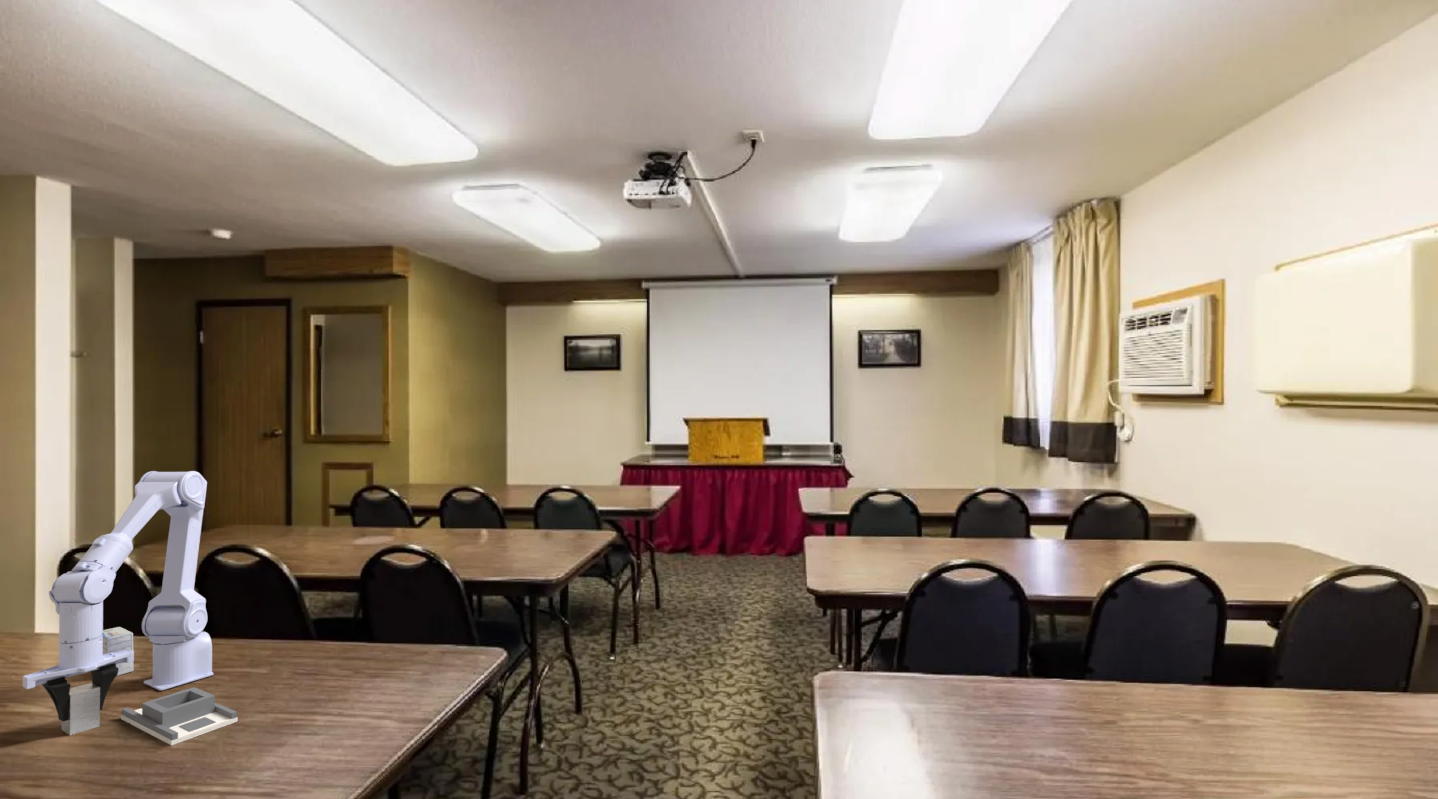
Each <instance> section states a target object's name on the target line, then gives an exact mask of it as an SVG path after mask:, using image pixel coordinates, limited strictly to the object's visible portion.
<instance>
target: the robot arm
mask: <svg viewBox="0 0 1438 799" xmlns="http://www.w3.org/2000/svg"><path fill="white" fill-rule="evenodd" d="M207 485H208V482H207V480H206V479H205V478H204V476H203V475H202V474H201V473H200V472H198V471H196V470H190V471H156V470H151V471H147V472H146V473H144V474H143V475H142V476H141V477H140V480H139V482H137V484H135V486H134V495H135V496H134V498H133V499H132V501H131V502H130V504H129V505H128V506H127V509H126V510H125V511H124V513H123V514H122V516H121V518H120V519H119V520H118V522H117V523H116V525H115V526H114V528H113V529H112V530H111V532H110V533H107V534H102V535H100V536H98V537H97V538H95V539H94V541H92V543H91V544H92V545H91V546H90V547H89V549H88V550H87V551H86V552H85V554H84V555H83V556H82V557H80V559H79V561H78V562H77V563H76V565H75V566H74V567H73V568H72V569H71V571H67V572H66V573H63V574H61V575H60V576H58V577H57V578H56V579H55V581H54V582H53V584H52V587H51V589H50V590H49V591H48V596H49V599H50V600H51V601H52V603H54V605H55V613H56V614H58V616H59V617H58V620H59V621H58V633H59V634H58V664H56V665H53V666H51V667H47V668H45V669H42V670H39V671H35V672H32V673H29V674H25V675H23V676H22V687H23V688H24V689H26V690H29V689H33V688H36V686H41V685H42V687H43V689H45V691H46V693H47V694H48V695H49V697H50V698H51V700H52V702H53V704H54V706H55V710H56V712H57V717H58V718H57V719H58V720H59V721H60V722H61V721H67V720H68V716H69V708H68V699H69V692H70V688H71V686H72V684H71V683H68V679H66V678H71V677H75V676H78V675H81V674H86V673H89V672H90V673H91V674H90V675H91V681H92V682H91V683H93V684H95V685H97V686H99V687H100V711H102V710H103V706H104V703H105V700H106V697H107V695H108V692H109V689H110V687H112V686H111V685H112V684H113V682H114V680H115V679H116V677H118V676H117V674H118V671H119V668H117V667H116V665H117V664H121V663H124V662H126V663H129V662H132V661H133V662H134V661H135V651H134V650H133V651H132V650H130V649H128V650H124V651H119V652H114V653H108V654H103V630H104V600H105V599H106V598H108V597H109V595H110V594H111V593H112V591H113V587H114V581H115V579H116V576H117V571H118V570H119V569H120V567H121V566H122V564H123V563H124V562H125V561H126V559H127V558H128V557H129V555H130V554H131V553H132V551H133V549H134V545H133V542H132V541H133V539H134V538H135V537H136V536H137V535H138V533H139V532H141V530H142V529H143V528H144V527H145V526H146V524H147V523H149V521H150V520H151V519H152V517H154V515H155V514H156V513H157V512H158V511H159V510H163V511H164V512H166V513H167V514H168V516H170V523H169V530H168V536H167V545H166V552H165V562H164V570H163V576H162V583H161V584H162V585H161V592H160V593H158V594H157V595H156V596H154V597H153V598H152V599H151V600H149V602H147V603H148V604H147V605H148V606H147V609H146V612H145V614H144V617H143V618H142V621H141V630H142V633H143V634H144V636H145V637H147V638H148V639H149V640H148V642H151V643H152V678H150V679H146V680H144V681H143V684H144V685H147V686H148V687H151V688H153V689H154V690H155V689H156V690H158V691H160V692H161V691H164V690H168V689H172V688H176V687H178V686H182V685H184V684H189V683H191V682H195V681H198V680H201V679H205V678H208V677H211V676H212V677H213V675H214V672H213V643H212V638H211V635H210V634H209V633H208V632H206V631H204V629H205V627H206V625H207V623H208V612H207V608H206V603H207V599H206V598H205V597H204V596H203V595H201V594H200V593H198V592H197V591H196V590H195V583H196V576H197V575H196V574H197V565H198V559H199V558H198V557H199V550H200V543H201V542H200V541H201V534H202V525H203V517H204V509H205V503H206V497H207V487H208V486H207Z"/></svg>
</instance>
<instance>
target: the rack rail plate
mask: <svg viewBox="0 0 1438 799" xmlns="http://www.w3.org/2000/svg"><path fill="white" fill-rule="evenodd" d="M141 707H142V708H141ZM141 707H140V708H138V709H135V710H133V709H131V708H129V707H123V708H121V714H120V719H121V720H122V721H124V722H125V723H127V724H129V723H130V725H132V726H133V727H135V728H137V729H139V730H141V731H142V732H144V733H146V734H149V735H150V736H153V737H154V738H156V739H158V740H160V741H161V742H164V743H166V744H168V745H170V746H174V745H177V744H179V743H182V742H185V741H188V740H190V739H193V738H195V737H198V736H201V735H205V734H207V733H210V732H213V731H214V730H218V729H221V728H223V727H226V726H228V725H232V724H235V723H236V722H239V721H238V720H239V719H238V711H236V710H234V709H231V708H229V707H227V706H225V705H222V704H220V703H217V702H216V696H215V695H214V694H212V693H209V692H208V691H204V690H203V689H200V688H197V687H190V688H186V689H182V690H180V691H177V692H174V693H171V694H167V695H163V696H161V697H158V698H154V699H150V700H148V701H145V702H142V704H141Z"/></svg>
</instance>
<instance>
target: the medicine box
mask: <svg viewBox="0 0 1438 799" xmlns="http://www.w3.org/2000/svg"><path fill="white" fill-rule="evenodd" d="M128 649H130V650H132V651H134V633H133V632H132V631H129V630H127V629H126V628H123V627H121V626H116V627H113V628H111V627H110V628H108V629H107V628H106V629H103V654H108V653H114V652H119V651H124V650H128ZM116 667H117V668H119V671H118V674H117V676H116V677H119V676H122V675H125V674H129V672H130V673H133V672H134V661H132V662H129V663H126V662H124V663H121V664H117V665H116Z"/></svg>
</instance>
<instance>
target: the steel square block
mask: <svg viewBox="0 0 1438 799" xmlns="http://www.w3.org/2000/svg"><path fill="white" fill-rule="evenodd" d="M68 708H69V716H68V720H67V721H61V720H60V722H61V724H60V725H61V731H62V732H63V731H65V732H66V733H65V732H64V733H65V734H67V735H68V734H69V736H73V735H76V733H77V734H79V732H80V733H83V732H85V731H89V730H92V729H95V728H98V727H100V726H101V724H100V722H101V719H100V718H101V714H100V713H101V710H100V687H99V686H97V685H95V684H93V682H89V683H86V684H85V683H84V684H81V685H78V686H74V687H70V692H69V699H68ZM72 734H73V735H72Z"/></svg>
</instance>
